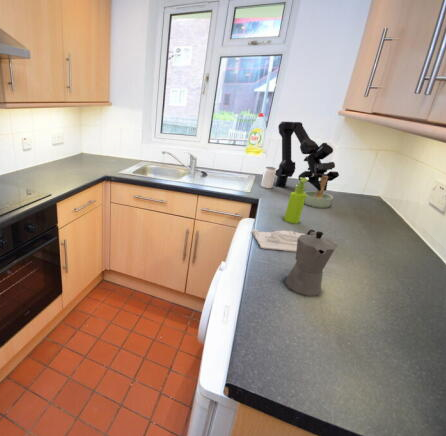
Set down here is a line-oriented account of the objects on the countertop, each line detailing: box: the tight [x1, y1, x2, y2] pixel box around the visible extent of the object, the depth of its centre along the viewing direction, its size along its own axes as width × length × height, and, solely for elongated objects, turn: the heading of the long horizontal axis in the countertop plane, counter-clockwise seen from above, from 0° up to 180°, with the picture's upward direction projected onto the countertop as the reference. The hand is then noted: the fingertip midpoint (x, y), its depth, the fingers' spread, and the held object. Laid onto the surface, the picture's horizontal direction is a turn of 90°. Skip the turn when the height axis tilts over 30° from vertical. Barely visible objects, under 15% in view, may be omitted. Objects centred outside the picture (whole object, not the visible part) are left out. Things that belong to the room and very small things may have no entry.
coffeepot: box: [284, 229, 338, 297], centre depth 85 cm, size 15×9×18 cm, turn 159°
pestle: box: [313, 175, 328, 199], centre depth 154 cm, size 5×5×14 cm
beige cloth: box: [251, 229, 306, 253], centre depth 113 cm, size 17×23×5 cm
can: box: [260, 166, 277, 189], centre depth 180 cm, size 6×6×12 cm
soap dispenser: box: [283, 177, 308, 224], centre depth 130 cm, size 6×7×20 cm
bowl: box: [304, 190, 334, 209], centre depth 156 cm, size 13×13×5 cm
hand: (322, 190), depth 153 cm, fingers closed on pestle, 2 cm apart
